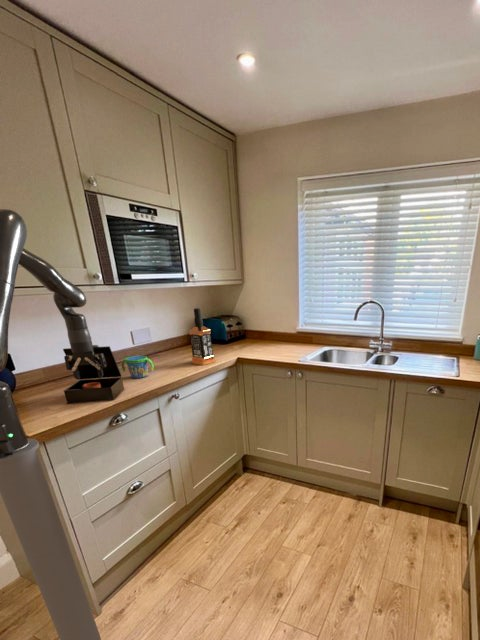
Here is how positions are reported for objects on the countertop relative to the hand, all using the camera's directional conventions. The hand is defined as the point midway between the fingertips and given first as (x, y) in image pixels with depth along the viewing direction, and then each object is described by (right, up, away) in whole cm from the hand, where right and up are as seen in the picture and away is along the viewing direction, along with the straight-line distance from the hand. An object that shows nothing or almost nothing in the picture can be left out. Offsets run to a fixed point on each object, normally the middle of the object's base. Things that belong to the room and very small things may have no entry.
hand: (89, 378), depth 140 cm
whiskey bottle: (+28, +14, +62) cm, 69 cm away
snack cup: (+4, +3, +34) cm, 34 cm away
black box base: (-1, -7, +6) cm, 10 cm away
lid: (-2, +7, +5) cm, 9 cm away
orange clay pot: (0, -8, +3) cm, 8 cm away
